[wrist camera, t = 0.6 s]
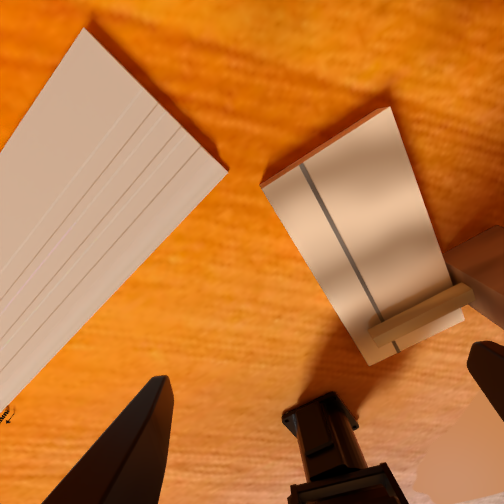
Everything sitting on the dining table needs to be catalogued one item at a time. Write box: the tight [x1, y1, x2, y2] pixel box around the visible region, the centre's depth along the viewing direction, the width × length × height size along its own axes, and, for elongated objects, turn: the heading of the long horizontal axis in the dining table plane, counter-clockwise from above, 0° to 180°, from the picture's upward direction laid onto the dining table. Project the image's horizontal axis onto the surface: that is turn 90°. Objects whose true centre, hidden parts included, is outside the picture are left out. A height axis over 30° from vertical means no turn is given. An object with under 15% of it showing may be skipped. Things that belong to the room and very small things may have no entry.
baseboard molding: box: [0, 28, 228, 424], centre depth 20 cm, size 31×3×12 cm
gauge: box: [368, 225, 504, 348], centre depth 20 cm, size 4×13×6 cm, turn 122°
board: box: [260, 106, 465, 366], centre depth 21 cm, size 19×9×2 cm, turn 32°
